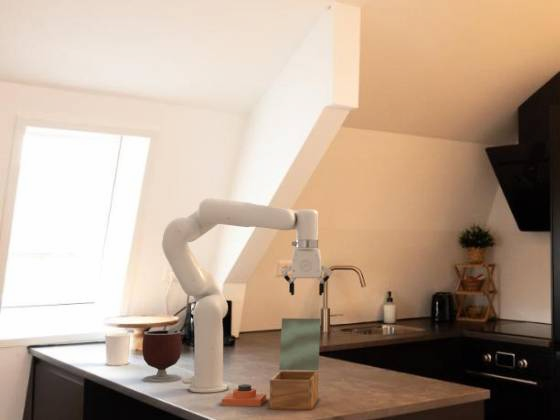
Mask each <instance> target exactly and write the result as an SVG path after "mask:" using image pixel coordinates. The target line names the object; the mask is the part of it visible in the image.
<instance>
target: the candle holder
mask: <svg viewBox="0 0 560 420" xmlns="http://www.w3.org/2000/svg"><path fill="white" fill-rule="evenodd" d="M104 339H105V355H106V356H105V359H106V365H107V366H124V365H127V364H129V358H130V357H129V355H130V344H131V333H128V332H114V333H113V332H112V333H106V334H105V335H104Z"/></svg>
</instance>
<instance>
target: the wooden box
mask: <svg viewBox="0 0 560 420" xmlns="http://www.w3.org/2000/svg"><path fill="white" fill-rule="evenodd" d="M318 401H319V370H279V371H278V372H277V373H276V374H275V375H274V376H273V377H272V378H270V379H269V410H295V411H296V410H298V411H299V410H300V411H302V410H303V411H304V410H305V411H306V410H307V411H312V410H313V408H314V406H315V405H316V403H317V402H318Z"/></svg>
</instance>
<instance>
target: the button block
mask: <svg viewBox="0 0 560 420" xmlns="http://www.w3.org/2000/svg"><path fill="white" fill-rule="evenodd" d="M266 401H267V393H257V389H256V388H254V387H251V391H238V388H234V389H233V390H232V392H229V393H228V394H226V395H225V396H224V397H223V398H222V399H221V406H223V407H226V406H227V407H229V406H231V407H237V406H238V407H261V406H262V405H263V404H264V403H265V402H266Z"/></svg>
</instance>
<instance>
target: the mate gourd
mask: <svg viewBox="0 0 560 420" xmlns="http://www.w3.org/2000/svg"><path fill="white" fill-rule="evenodd" d="M181 324H182V323H181V322H180V321H179V322H177V323H176V324H173V325H172V326H171V327H170V328H169V329H161V330H160V329H159V330H148V331H143V337H142V343H141V345H142V346H141V347H142V348H141V351H142V357H143V360H144V362H145V363H146V364H147V366H149V367H152V368H154V369H156V370H157V372H156V374H152V375H147V376H144V377H143V381H144V382H147V383H167V382H174V381H175V382H176V381H177V380H180V376H179V375H177V374H169V373H168V372H167V369H169V368H170V367H172V366H174V365H176V364H177V363H178V361H179V360H180V357H181V356H182V355H181V354H182V350H183V349H182V348H183V347H182V346H183V342H182V336H181V335H182V334H181V331H180V330H177V328H178V326H179V325H181Z"/></svg>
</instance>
